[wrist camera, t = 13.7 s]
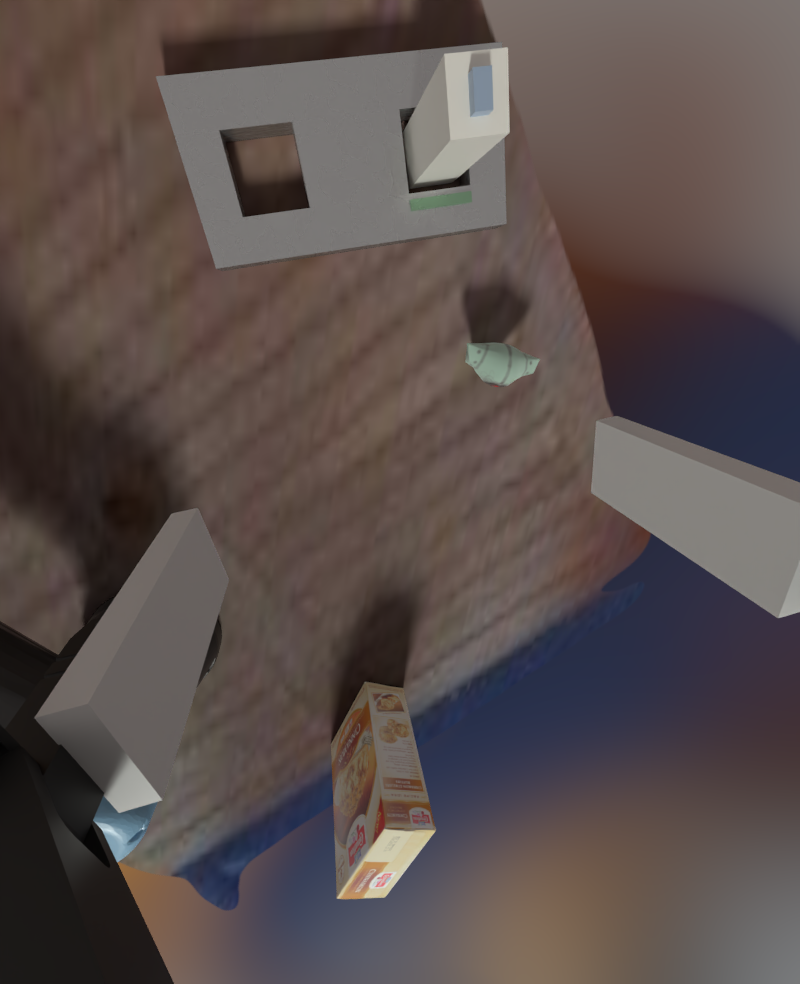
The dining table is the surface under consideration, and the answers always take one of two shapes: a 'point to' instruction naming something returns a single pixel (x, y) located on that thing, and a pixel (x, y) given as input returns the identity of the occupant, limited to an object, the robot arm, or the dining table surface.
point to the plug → (458, 116)
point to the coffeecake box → (377, 794)
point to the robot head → (499, 362)
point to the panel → (324, 156)
